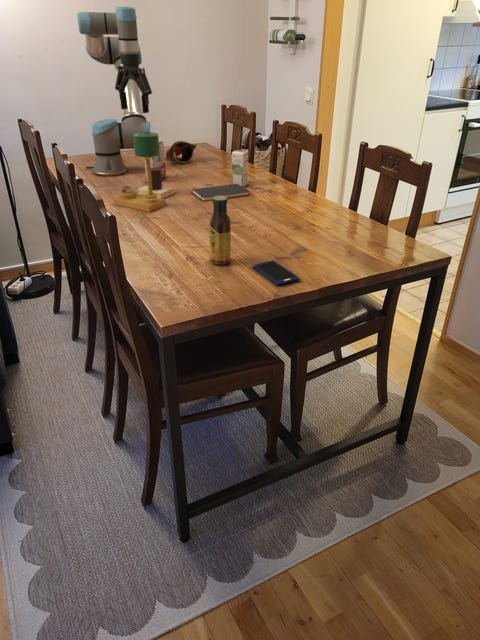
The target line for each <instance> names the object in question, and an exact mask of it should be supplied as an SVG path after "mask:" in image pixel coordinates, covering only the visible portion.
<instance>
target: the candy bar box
mask: <svg viewBox="0 0 480 640" xmlns="http://www.w3.org/2000/svg"><path fill="white" fill-rule="evenodd" d="M164 147H165V145H164V140H159V153H160V154H159V155H158V156H154V157H151V159H150V166H151V168H152V167H159V168H161V178H162V180H164V179H165V178H166V177H167V170H166V159H165V158H166V157H165V149H164ZM143 161H144V172H145V180H146V183H148V181H147V170H146V159H144V158H143Z"/></svg>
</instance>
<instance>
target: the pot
mask: <svg viewBox="0 0 480 640" xmlns="http://www.w3.org/2000/svg"><path fill="white" fill-rule="evenodd" d="M197 146H199V143H191V142H187V141H183V140H178V141H175V142H173V143H172V145H171V146H170V148H168V149H167V150H166V152H165V158H166V159H169V160H170V161H172V162H174V161H176V162H177V163H179V164H185V163H189V162H190V161H191V160H192V158H193V156H194V150H195V149H196V148H197ZM179 156H181V159H177V157H179Z"/></svg>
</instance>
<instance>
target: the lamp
mask: <svg viewBox="0 0 480 640" xmlns="http://www.w3.org/2000/svg"><path fill="white" fill-rule="evenodd" d="M133 140H134V149H133V150H134V155H135V156H136V157H138V158H139V157H140V158H143V160H144V159H146V170H147V181H148V182H147V185H148V192H149V193H148V194H145V195H144V197H145V198H146V199H154V198H157V197H158V196H157V194H155V193H153V190H152V178H151V166H150V159H151V157H154V156H158V155H159V154H160V153H159V141H160V140H159V134H158V133H156V132H151V131H150V132H140V133H135V134H133Z"/></svg>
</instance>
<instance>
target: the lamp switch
mask: <svg viewBox="0 0 480 640" xmlns="http://www.w3.org/2000/svg"><path fill="white" fill-rule="evenodd" d="M132 190H133V187H132V186H130V185H129V186H122V187H121V191H122V194H131V193H132Z"/></svg>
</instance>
